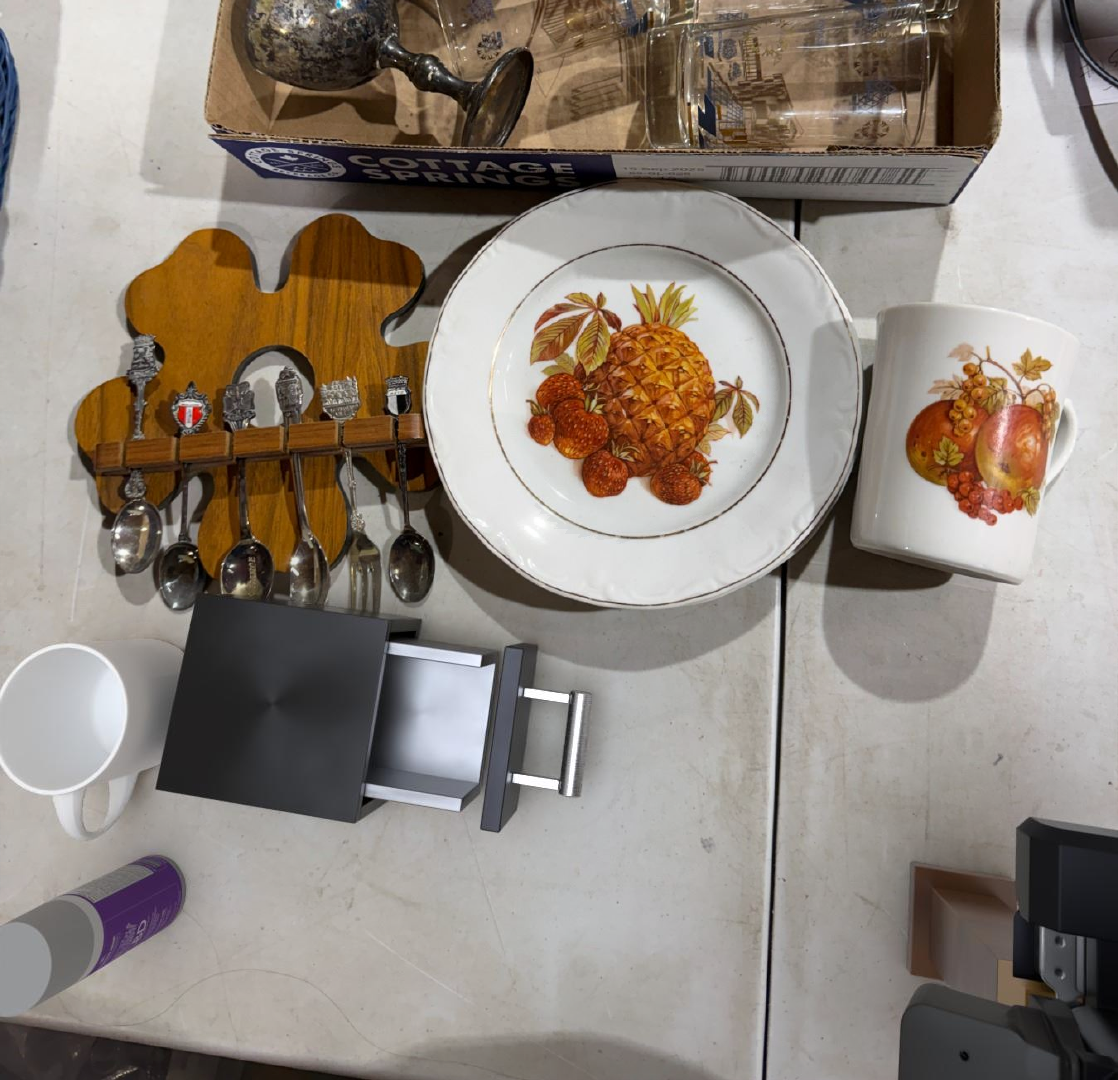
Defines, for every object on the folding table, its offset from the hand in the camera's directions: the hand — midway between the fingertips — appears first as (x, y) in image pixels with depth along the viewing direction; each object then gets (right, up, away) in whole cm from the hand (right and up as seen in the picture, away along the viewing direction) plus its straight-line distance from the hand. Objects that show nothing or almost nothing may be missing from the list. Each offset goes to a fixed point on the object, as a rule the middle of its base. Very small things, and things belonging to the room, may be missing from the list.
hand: (1030, 1001), depth 50 cm
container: (-50, -5, +18) cm, 54 cm away
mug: (-52, +5, +21) cm, 56 cm away
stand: (+1, -3, +12) cm, 13 cm away
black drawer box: (-40, +8, +20) cm, 45 cm away
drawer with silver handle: (-29, +7, +18) cm, 34 cm away
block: (0, +1, -3) cm, 4 cm away
